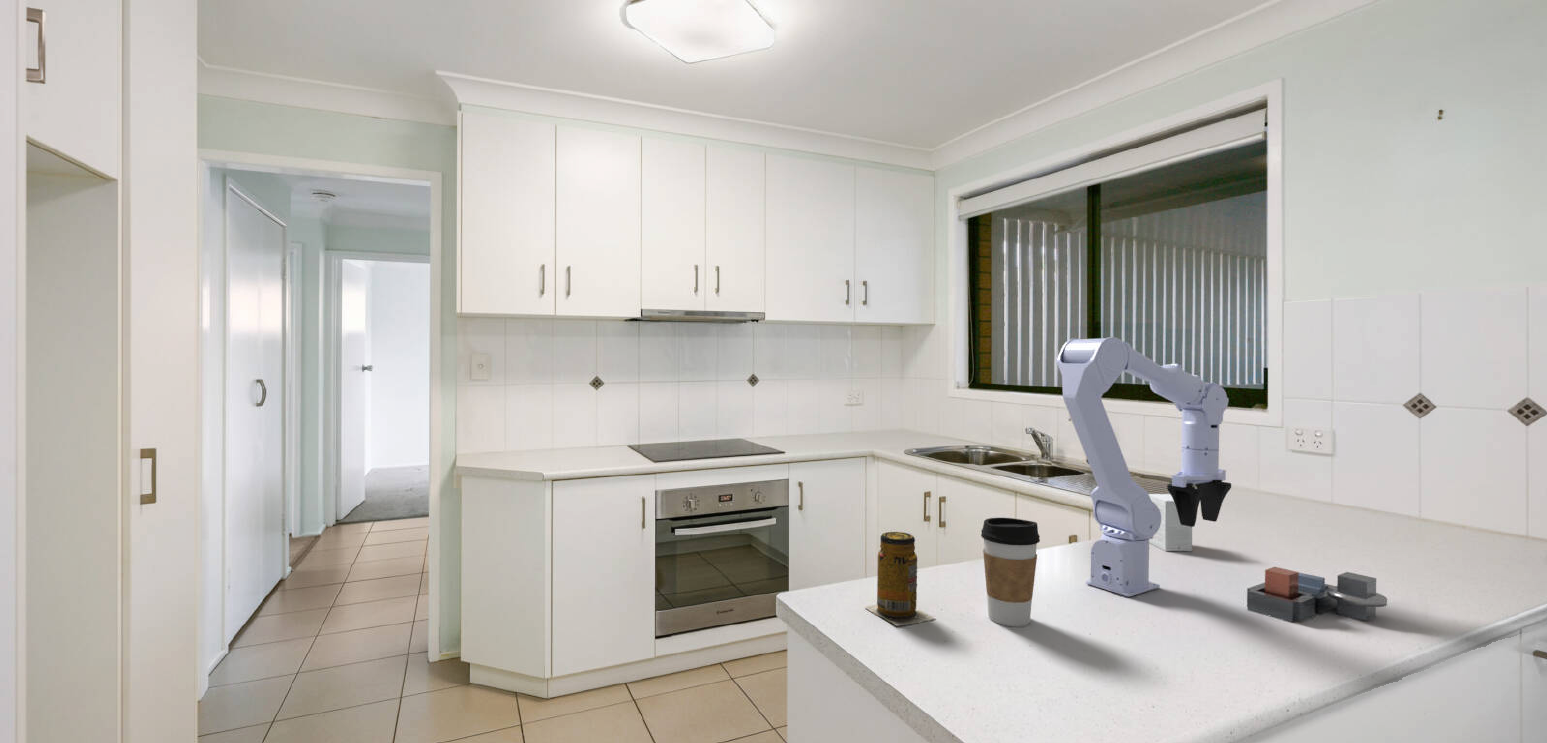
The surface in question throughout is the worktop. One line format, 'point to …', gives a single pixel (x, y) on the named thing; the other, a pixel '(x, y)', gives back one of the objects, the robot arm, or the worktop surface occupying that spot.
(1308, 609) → the grey socket with disc
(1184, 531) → the small box
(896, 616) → the condiment
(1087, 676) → the worktop surface
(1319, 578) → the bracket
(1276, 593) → the reddish brown rectangular block
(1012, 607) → the coffee cup
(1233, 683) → the worktop surface
